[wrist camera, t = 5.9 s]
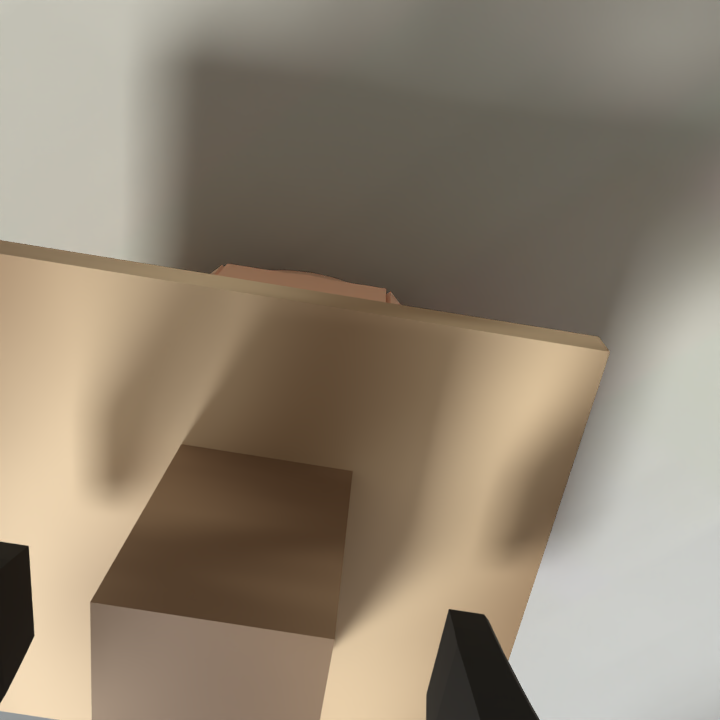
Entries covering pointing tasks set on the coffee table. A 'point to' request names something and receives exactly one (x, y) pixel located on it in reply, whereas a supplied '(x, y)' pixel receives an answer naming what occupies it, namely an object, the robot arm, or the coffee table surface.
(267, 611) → the oak lid
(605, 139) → the coffee table surface
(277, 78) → the coffee table surface
